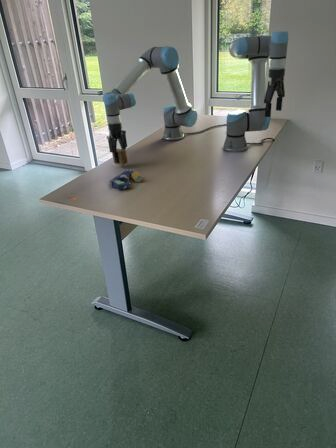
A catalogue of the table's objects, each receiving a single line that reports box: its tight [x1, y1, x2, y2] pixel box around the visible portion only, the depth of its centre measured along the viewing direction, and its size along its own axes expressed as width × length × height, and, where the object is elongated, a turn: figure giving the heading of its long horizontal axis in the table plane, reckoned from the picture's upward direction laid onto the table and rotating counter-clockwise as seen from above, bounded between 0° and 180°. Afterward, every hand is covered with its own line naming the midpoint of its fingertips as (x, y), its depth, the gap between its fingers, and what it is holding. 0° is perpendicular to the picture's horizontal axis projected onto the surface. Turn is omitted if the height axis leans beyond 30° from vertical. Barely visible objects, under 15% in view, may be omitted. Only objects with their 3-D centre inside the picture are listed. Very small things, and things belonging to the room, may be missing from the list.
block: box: [112, 148, 129, 166], centre depth 202 cm, size 5×7×8 cm
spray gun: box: [108, 168, 143, 191], centre depth 184 cm, size 21×4×15 cm
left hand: (120, 160), depth 204 cm, fingers closed on block, 5 cm apart
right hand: (273, 113), depth 171 cm, fingers open, 13 cm apart
